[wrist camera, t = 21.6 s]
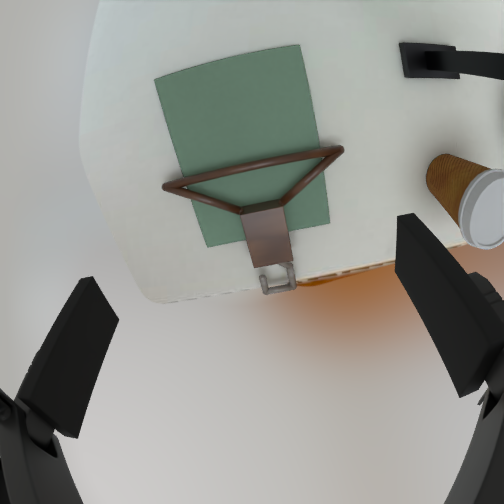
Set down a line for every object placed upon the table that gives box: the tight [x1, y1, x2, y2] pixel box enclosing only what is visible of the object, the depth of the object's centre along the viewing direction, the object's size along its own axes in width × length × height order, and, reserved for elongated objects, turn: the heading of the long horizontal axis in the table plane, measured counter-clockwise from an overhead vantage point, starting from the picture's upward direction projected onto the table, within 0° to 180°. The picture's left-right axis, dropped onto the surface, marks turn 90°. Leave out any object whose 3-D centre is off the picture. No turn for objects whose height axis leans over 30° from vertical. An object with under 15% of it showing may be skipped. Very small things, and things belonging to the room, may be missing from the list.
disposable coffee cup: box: [426, 154, 504, 250], centre depth 29 cm, size 10×10×12 cm
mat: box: [154, 45, 330, 247], centre depth 33 cm, size 22×16×1 cm
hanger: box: [162, 145, 344, 295], centre depth 37 cm, size 21×2×18 cm
